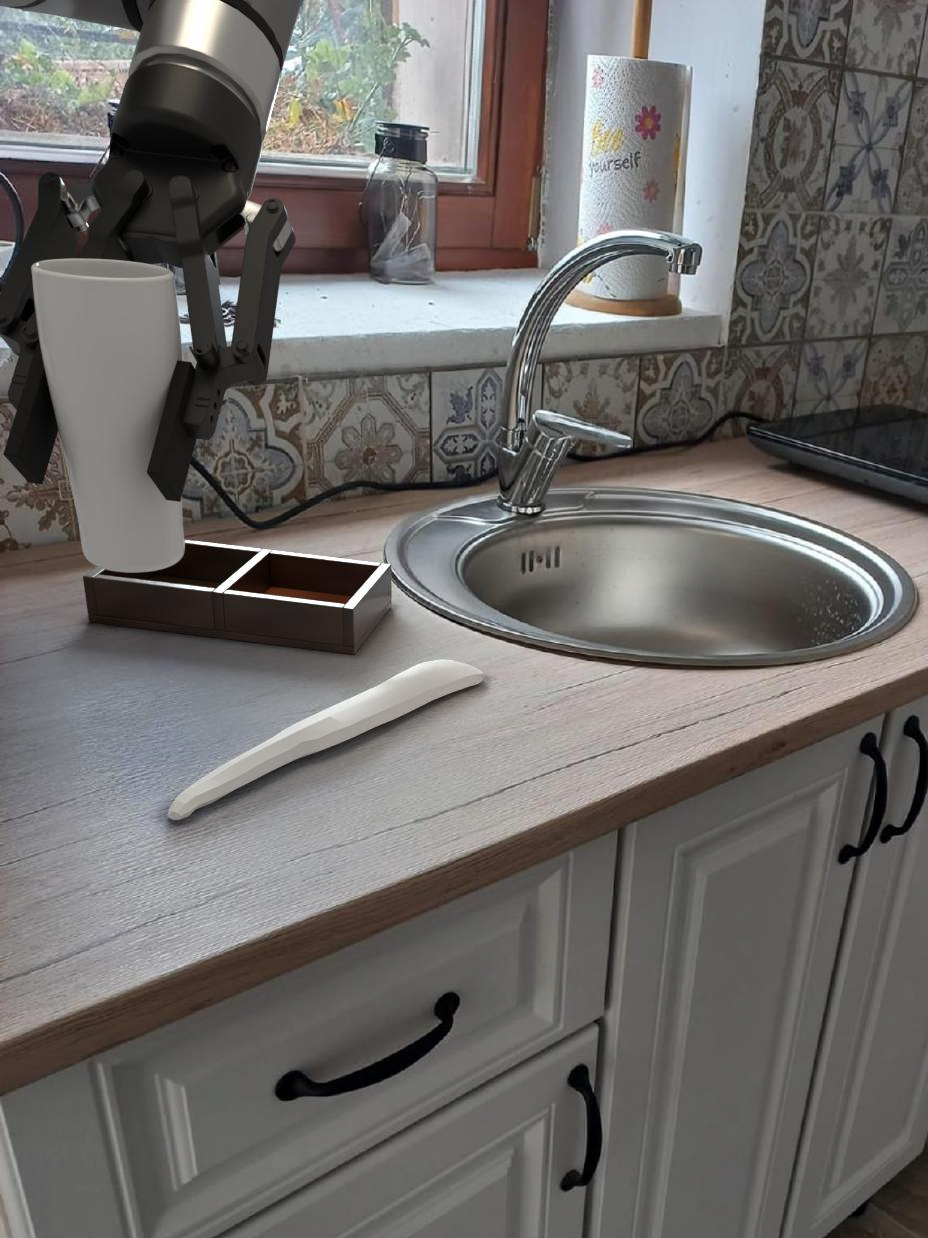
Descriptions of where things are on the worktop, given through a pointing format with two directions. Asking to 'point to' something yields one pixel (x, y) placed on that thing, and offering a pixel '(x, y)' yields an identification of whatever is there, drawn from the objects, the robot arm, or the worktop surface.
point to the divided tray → (248, 597)
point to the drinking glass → (112, 400)
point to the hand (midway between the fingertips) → (93, 477)
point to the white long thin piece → (330, 728)
